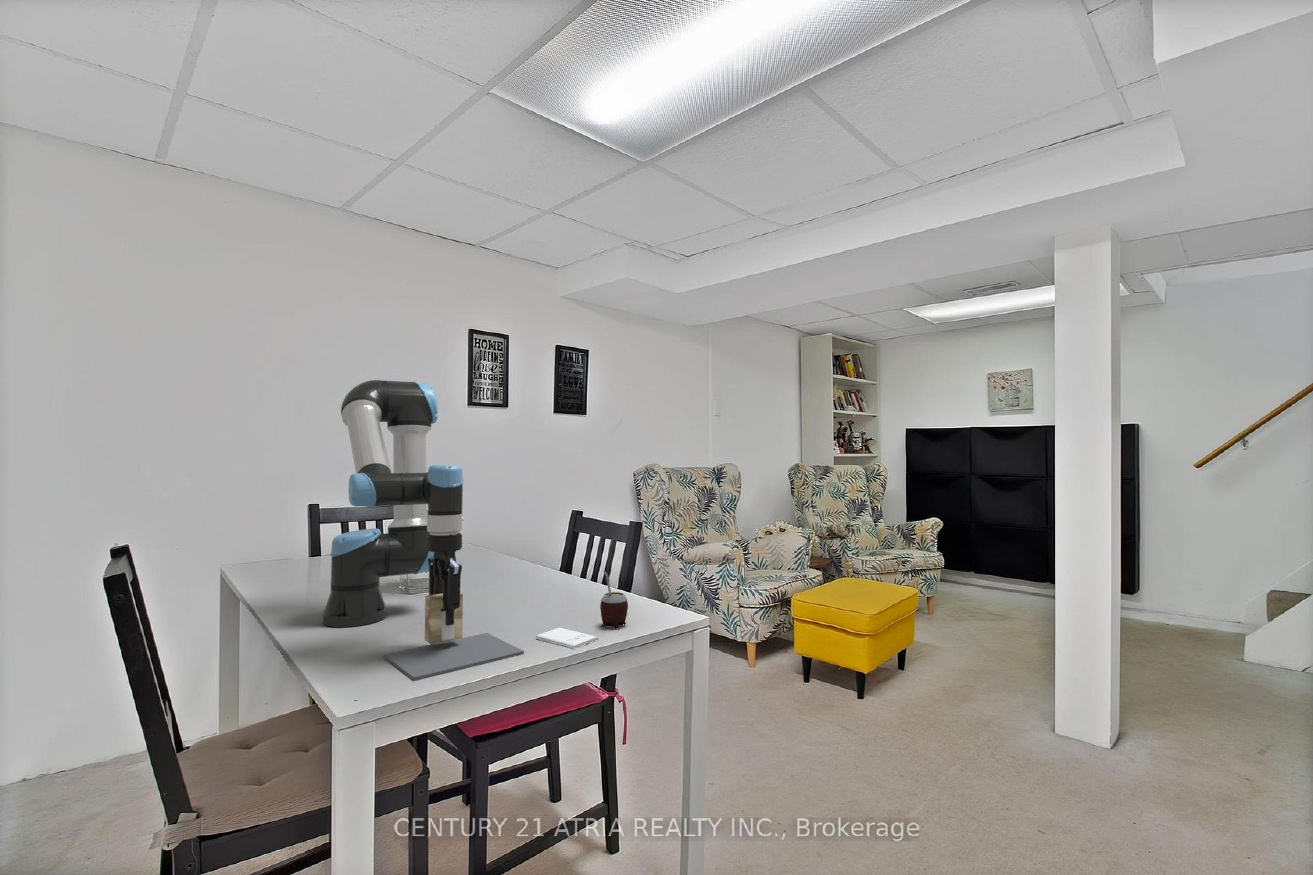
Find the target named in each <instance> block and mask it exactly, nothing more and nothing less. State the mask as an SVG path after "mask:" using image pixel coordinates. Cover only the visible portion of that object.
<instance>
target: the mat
mask: <svg viewBox="0 0 1313 875" xmlns="http://www.w3.org/2000/svg"><path fill="white" fill-rule="evenodd" d="M524 654H525V650H524V649H521V648H519V647H517V646H515V645H512V644H511V643H509V642H506V641H505V640H502V639H501V638H499V637H496V636H494V635H493V634H490V633H488V632H485V633H480V634H475V635H469V636H466V637H462V639H457V640H452V641H447V642H443V643H438V644H433V645H431V644H428V645H422V646H418V647H417V646H416V647H414V648H408V649H404V650H398V651H393V652H389V653H384V654H383V658H384V659H385V660H387V662H389V663H390V664H391V665H393V666H395V668H397V669H398V670H399V671H401V672H402V673H404V675H406V676H407V677H409V678H410V679H411V680H413V681H418V680H423V679H427V678H430V677H436V676H439V675H443V674H447V673H451V672H455V671H460V670H463V669H467V668H471V667H476V666H479V665H483V664H488V663H491V662H492V663H493V662H496V661H499V660H504V659H508V658H512V657H516V656H520V655H524Z"/></svg>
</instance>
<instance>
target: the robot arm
mask: <svg viewBox="0 0 1313 875" xmlns="http://www.w3.org/2000/svg"><path fill="white" fill-rule="evenodd" d="M340 406H341V407H340V416H341V419H342V420H341V421H342V422H343V424H344V425H345V426H346V427H347V429H348V435H349V441H350V446H351V447H350V448H351V453H352V458H353V464H354V469H355V473H353V474H351V475H350V476H349V480H348V501H349V503H350V505H351V506H353V507H367V508H373V507H388V506H389V507H390V506H393V519H392V522H391V523H389V525H388V526H387V532H386V533H382V531H381V530H380V529H379V528H364V529H358V530H353V531H352V530H351V531H348V532H344V533H342V534H339V535H336V536H335V537H334V538H333V539H332V541H331V551H330V557H331V558H330V559H331V562H330V563H331V564H330V571H331V572H330V593H329V597H328V599H327V602H326V604H325V607H324V609H323V614H322V624H323V625H324V626H328V627H333V628H334V627H335V628H346V627H347V628H348V627H350V628H351V627H357V626H365V625H369V624H373V623H377V622H380V621H382V620H384V619H385V618H386V617H387V606H386V603H385V600H384V597H383V595H382V592H381V591H382V590H381V589H380V580H381V579H380V578H384V577H385V578H386V577H395V576H397V577H398V576H404V575H406V576H407V575H417V574H423V573H428V595H434V594H440V593H443V606H444V608H443V609H440V610H441V612H442V627H441V640H442V641H444V640H448V639H453V638H454V637H455V609H456V608H459V607H460V593H461V576H462V575H461V574H462V569H463V565H462V564H461V563H458V564H457V557H456V552H457V551H460V550H462V549H463V548H462V547H463V534H462V533H461V531H463V521H464V517H463V496H464V495H463V493H464V492H463V490H464V489H463V486H464V485H463V483H464V477H463V476H464V475H463V468H462V466H460V465H458V464H457V465H456V464H453V465H452V464H439V465H438V464H437V465H430V466H428V470H427V449H426V448H427V439H426V438H427V437H426V435H427V434H428V433H429V431H431V430H432V425H433V424H436V422H437V420H438V413H439V407H438V400H437V394H436V393H435V391H434V388H433V387H432V386H431V385H430V384H427V383H424V382H416V381H399V380H396V381H395V380H381V379H372V380H371V379H370V380H367V381H364V382H361V383H359V384H358V385H356V386H354V387H353V388H352V389H351V390H349V392H348V393H346V395H345V397H344V399H342V404H341V405H340ZM381 423H387V426H386V429H387V430H388V431H389V432H390V433H391V434H392V437H393V440H392V441H393V442H392V444H393V445H392V446H393V447H392V448H393V452H392V453H393V455H392V456H393V459H392V460H393V466H392V468H393V470H392V468H391V465H390V460H389V456H388V453H387V448H386V444H385V440H384V435H383V432H382V428H381V427H382V426H381ZM392 471H393V473H392Z"/></svg>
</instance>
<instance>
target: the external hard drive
mask: <svg viewBox="0 0 1313 875" xmlns="http://www.w3.org/2000/svg"><path fill="white" fill-rule="evenodd" d="M537 639H538V641H542V642H545V641H547V642H546V643H549V642H550V644H553V645H556V644H560V645H563V646H562V647H564V646H566V647H565V648H568V647H569V648H568V649H572V648H577V649H579V648H581V647H580V646H582V645H584V644H586V645H589V644H588V643H590V642H592V641H595V642H597V641H596V640H598V641H599V636H596V635H591V634H587V633H584V632H579V631H575V630H572V629H567V628H563V627H557V628H554V629H551V630H549V631H545V632H542V633H538V634H537V635H536V640H537ZM592 643H593V642H592ZM590 644H591V643H590ZM560 645H559V646H560ZM582 647H583V646H582Z"/></svg>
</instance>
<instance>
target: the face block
mask: <svg viewBox="0 0 1313 875" xmlns="http://www.w3.org/2000/svg"><path fill="white" fill-rule="evenodd" d="M463 597H464V594H463V593H461V592H460V607H459V608H456V609H455V637H454V638H453V639H448V640H444V641H442V640H441V627H442V612H441V610H440V609H443V608H444V606H443V593H440V594H434V595H429V594H428V595H427V594H426V595H425V597H424V598H425V599H424V600H425V604H424V605H425V606H424V608H425V609H424V610H425V612H424V621H425V622H424V641H425V642H426V643H428V644H429V645H433V644H438V643H443V642H447V641H452V640H457V639H462V638H463V622H464V620H463V618H464V617H463V615H464V613H463V612H464V611H463V610H464V608H463V607H464V606H463V604H464V602H463V600H464V598H463Z"/></svg>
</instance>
